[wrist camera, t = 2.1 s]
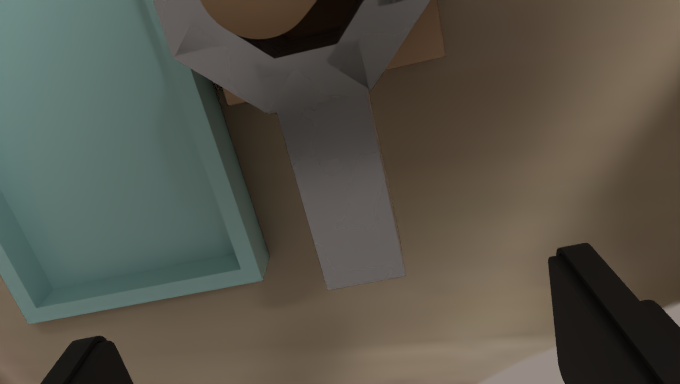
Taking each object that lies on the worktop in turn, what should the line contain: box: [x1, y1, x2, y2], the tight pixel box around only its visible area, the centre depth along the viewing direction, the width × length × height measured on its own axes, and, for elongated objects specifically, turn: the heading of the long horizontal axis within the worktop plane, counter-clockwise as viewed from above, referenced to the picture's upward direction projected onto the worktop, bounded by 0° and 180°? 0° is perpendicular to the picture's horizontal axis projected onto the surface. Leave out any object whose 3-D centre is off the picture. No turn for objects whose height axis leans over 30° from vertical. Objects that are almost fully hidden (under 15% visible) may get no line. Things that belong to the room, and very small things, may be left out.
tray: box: [0, 0, 270, 324], centre depth 20 cm, size 18×10×2 cm, turn 13°
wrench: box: [153, 0, 430, 290], centre depth 15 cm, size 12×6×4 cm, turn 13°
